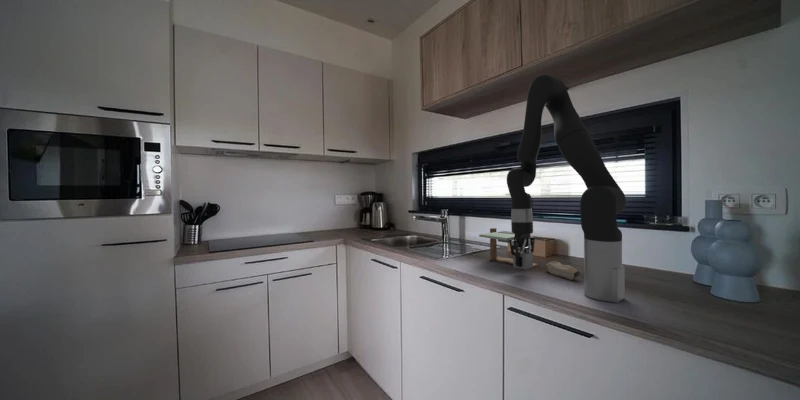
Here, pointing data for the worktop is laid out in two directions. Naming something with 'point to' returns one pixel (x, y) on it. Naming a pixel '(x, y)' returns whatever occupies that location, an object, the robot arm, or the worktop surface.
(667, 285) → the worktop surface
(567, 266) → the bone fragment
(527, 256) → the grey block
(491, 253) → the frame
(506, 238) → the trapdoor
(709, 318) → the worktop surface
